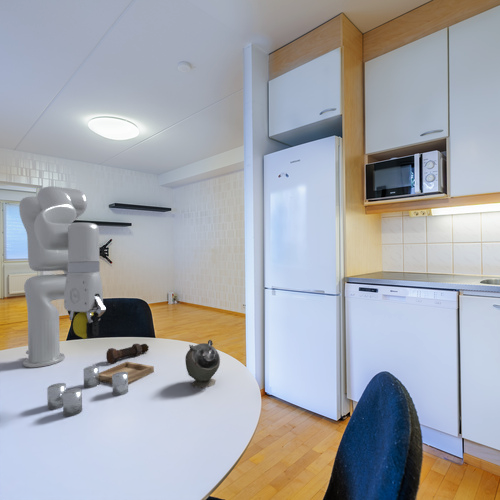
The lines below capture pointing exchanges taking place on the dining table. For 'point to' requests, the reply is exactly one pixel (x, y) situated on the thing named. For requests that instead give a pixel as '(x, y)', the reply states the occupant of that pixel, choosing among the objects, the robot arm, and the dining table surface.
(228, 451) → the dining table surface
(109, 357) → the bolt
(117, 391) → the cylinder
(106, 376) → the tray
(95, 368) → the cylinder
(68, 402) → the cylinder
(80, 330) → the lemon
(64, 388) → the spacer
